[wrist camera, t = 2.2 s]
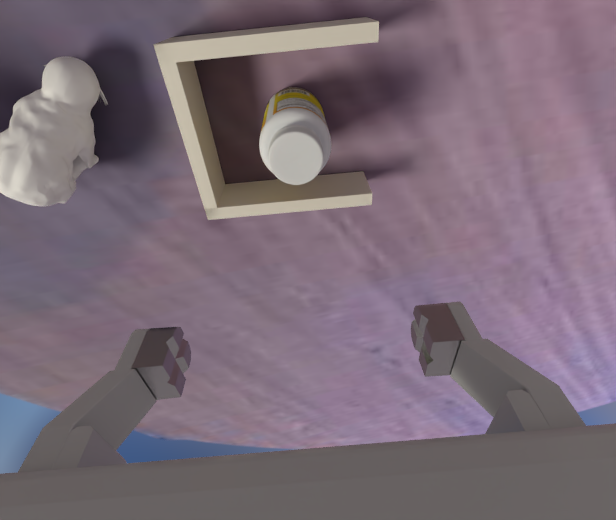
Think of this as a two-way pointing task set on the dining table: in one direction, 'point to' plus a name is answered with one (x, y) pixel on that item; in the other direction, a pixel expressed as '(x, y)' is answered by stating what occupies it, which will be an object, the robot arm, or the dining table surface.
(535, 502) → the robot arm
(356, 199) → the beige u-shaped bracket
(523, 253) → the dining table surface
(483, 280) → the dining table surface
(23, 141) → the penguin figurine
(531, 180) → the dining table surface
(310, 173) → the supplement bottle
